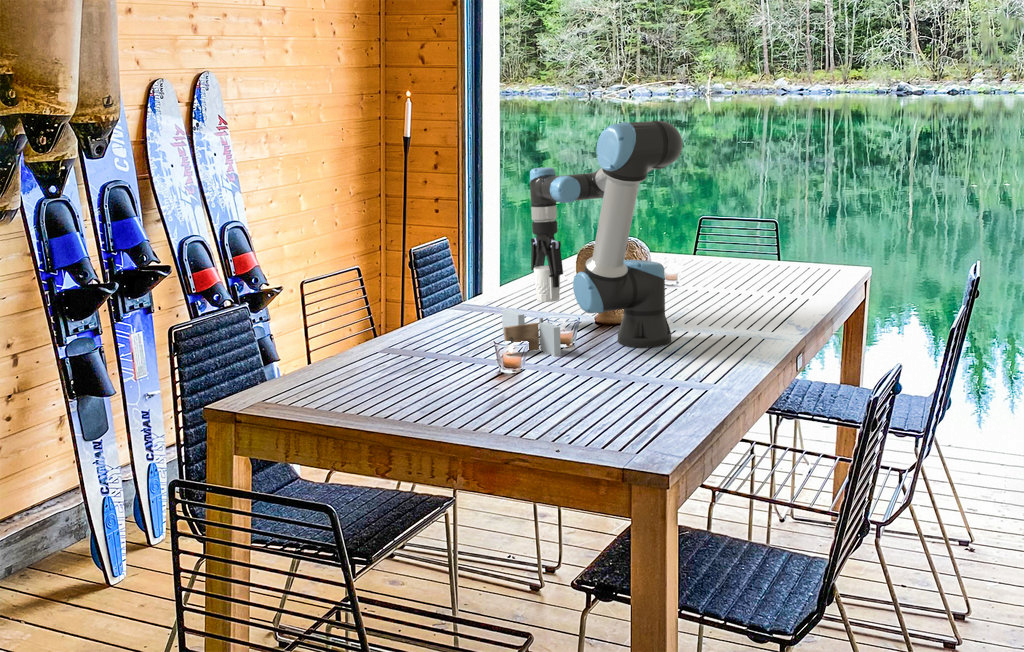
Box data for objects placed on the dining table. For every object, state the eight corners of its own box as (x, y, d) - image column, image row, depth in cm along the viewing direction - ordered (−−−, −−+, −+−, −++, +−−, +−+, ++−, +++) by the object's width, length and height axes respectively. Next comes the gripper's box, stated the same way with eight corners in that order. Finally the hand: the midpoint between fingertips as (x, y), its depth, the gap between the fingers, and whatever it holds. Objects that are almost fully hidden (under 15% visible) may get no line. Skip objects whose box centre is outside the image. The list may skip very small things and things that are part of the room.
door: (537, 348, 310) (536, 322, 308) (541, 350, 308) (540, 324, 306) (505, 353, 306) (504, 327, 304) (508, 355, 304) (507, 328, 302)
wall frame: (560, 355, 303) (559, 323, 301) (554, 356, 302) (553, 324, 300) (508, 335, 329) (507, 305, 327) (502, 336, 328) (501, 306, 326)
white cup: (551, 303, 328) (549, 269, 326) (529, 301, 333) (528, 268, 331) (566, 298, 334) (565, 266, 332) (545, 297, 339) (543, 264, 337)
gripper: (573, 221, 321) (576, 299, 326) (538, 216, 339) (541, 290, 344) (551, 223, 318) (554, 302, 323) (516, 219, 336) (520, 293, 340)
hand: (548, 296), depth 333 cm, fingers closed on white cup, 8 cm apart
